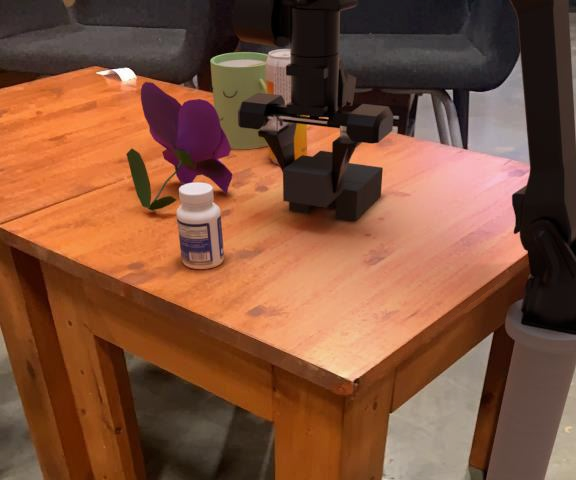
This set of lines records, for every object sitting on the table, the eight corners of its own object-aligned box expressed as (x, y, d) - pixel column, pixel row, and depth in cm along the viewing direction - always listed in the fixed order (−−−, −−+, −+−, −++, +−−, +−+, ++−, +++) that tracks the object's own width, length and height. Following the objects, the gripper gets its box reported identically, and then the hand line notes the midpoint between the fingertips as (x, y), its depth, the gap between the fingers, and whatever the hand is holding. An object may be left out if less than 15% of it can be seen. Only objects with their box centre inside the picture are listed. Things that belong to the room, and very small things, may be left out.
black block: (350, 185, 103) (351, 154, 101) (325, 207, 98) (326, 175, 95) (309, 179, 105) (309, 149, 103) (283, 201, 100) (282, 169, 97)
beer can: (308, 154, 124) (308, 48, 114) (305, 166, 120) (305, 58, 110) (271, 153, 125) (268, 48, 115) (266, 166, 120) (263, 57, 110)
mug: (203, 138, 131) (196, 59, 123) (252, 126, 135) (249, 49, 127) (245, 157, 123) (241, 74, 115) (296, 144, 128) (295, 63, 120)
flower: (208, 254, 108) (254, 183, 111) (164, 172, 95) (219, 93, 98) (131, 233, 114) (177, 165, 117) (79, 153, 101) (133, 79, 104)
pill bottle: (202, 248, 98) (196, 176, 92) (232, 259, 95) (228, 186, 89) (172, 262, 95) (163, 189, 89) (203, 274, 92) (196, 199, 86)
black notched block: (381, 196, 110) (382, 167, 107) (355, 221, 104) (357, 191, 101) (317, 186, 113) (317, 158, 111) (289, 210, 107) (288, 181, 104)
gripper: (412, 43, 92) (401, 178, 102) (272, 33, 98) (276, 160, 108) (381, 64, 84) (373, 207, 95) (231, 51, 90) (239, 186, 101)
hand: (313, 188), depth 100 cm, fingers closed on black block, 6 cm apart
